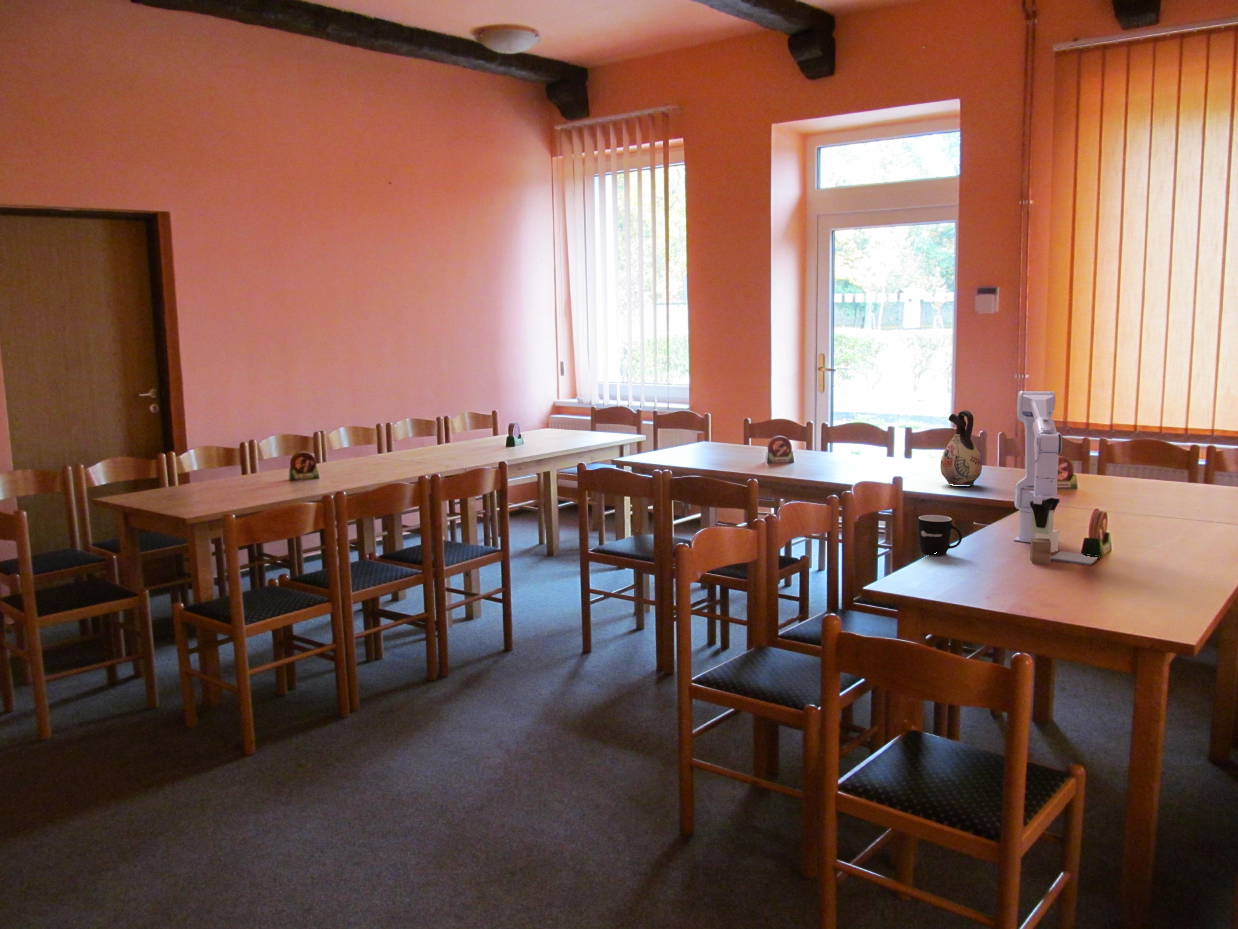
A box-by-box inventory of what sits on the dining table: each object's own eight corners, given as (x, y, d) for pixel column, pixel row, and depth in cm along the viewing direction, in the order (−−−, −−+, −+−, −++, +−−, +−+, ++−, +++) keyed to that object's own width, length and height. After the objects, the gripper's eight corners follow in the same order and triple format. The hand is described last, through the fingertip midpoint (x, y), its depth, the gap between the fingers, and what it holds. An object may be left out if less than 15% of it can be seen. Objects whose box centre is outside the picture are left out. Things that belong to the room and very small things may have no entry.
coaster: (1060, 553, 275) (1060, 551, 275) (1099, 558, 269) (1099, 556, 269) (1050, 560, 267) (1050, 558, 267) (1090, 565, 261) (1090, 563, 261)
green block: (1035, 529, 274) (1036, 508, 273) (1052, 531, 272) (1053, 510, 271) (1031, 532, 271) (1031, 511, 270) (1048, 534, 268) (1049, 512, 267)
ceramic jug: (931, 483, 390) (934, 408, 385) (964, 481, 394) (967, 407, 390) (958, 490, 374) (961, 412, 369) (992, 488, 378) (995, 410, 374)
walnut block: (1030, 559, 269) (1031, 537, 268) (1047, 560, 267) (1049, 538, 266) (1031, 563, 264) (1032, 541, 264) (1049, 564, 263) (1051, 542, 262)
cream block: (1042, 548, 281) (1043, 527, 280) (1057, 551, 278) (1058, 530, 277) (1034, 550, 278) (1035, 529, 278) (1049, 553, 275) (1050, 532, 274)
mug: (912, 554, 275) (914, 519, 274) (922, 548, 282) (923, 513, 281) (956, 560, 268) (958, 523, 267) (965, 553, 276) (966, 518, 274)
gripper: (1038, 472, 277) (1036, 519, 279) (1022, 479, 266) (1020, 528, 268) (1065, 474, 273) (1062, 522, 274) (1050, 481, 261) (1047, 531, 263)
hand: (1043, 526), depth 271 cm, fingers closed on green block, 4 cm apart
